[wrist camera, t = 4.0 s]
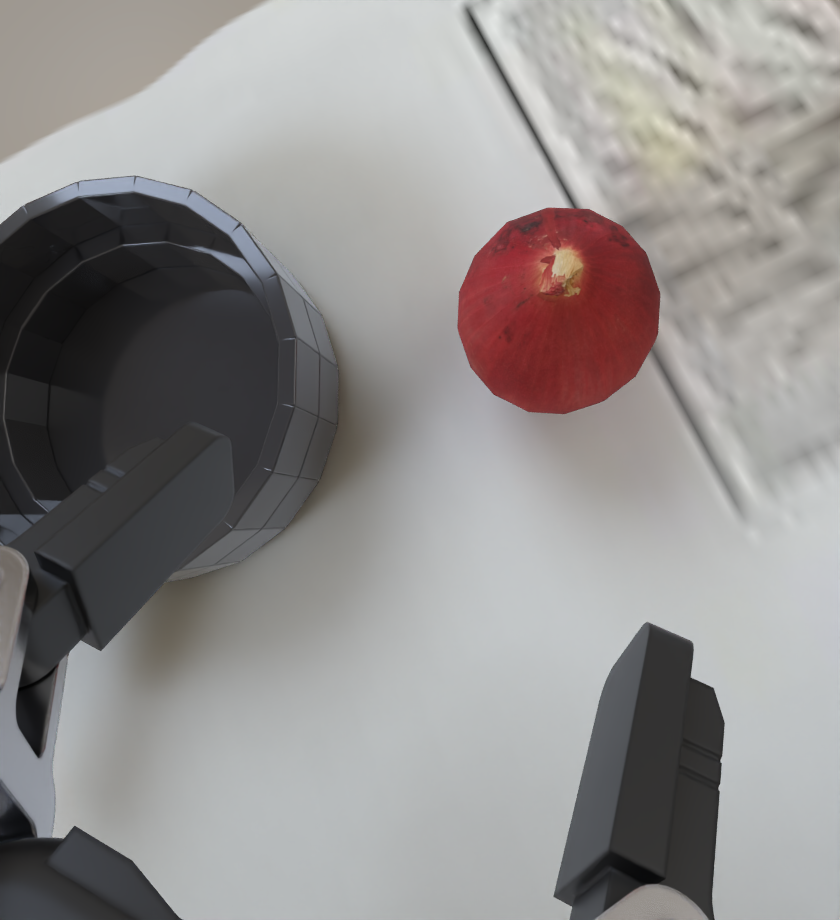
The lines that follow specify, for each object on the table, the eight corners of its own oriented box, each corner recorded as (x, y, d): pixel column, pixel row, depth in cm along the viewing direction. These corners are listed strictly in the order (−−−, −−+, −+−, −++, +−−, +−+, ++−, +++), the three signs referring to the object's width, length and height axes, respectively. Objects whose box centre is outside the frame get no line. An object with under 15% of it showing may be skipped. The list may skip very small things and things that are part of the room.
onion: (450, 298, 24) (408, 189, 16) (605, 243, 23) (642, 98, 15) (498, 449, 23) (479, 414, 15) (661, 397, 22) (731, 331, 14)
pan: (389, 285, 24) (353, 229, 19) (277, 626, 24) (212, 653, 19) (91, 206, 27) (-5, 139, 22) (-15, 512, 26) (-135, 512, 21)
